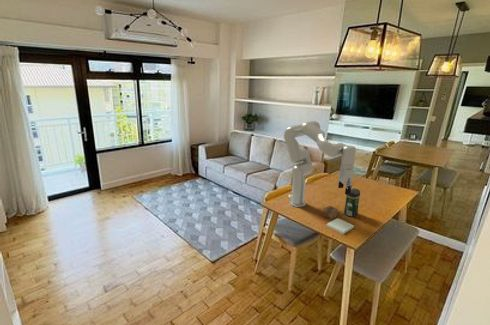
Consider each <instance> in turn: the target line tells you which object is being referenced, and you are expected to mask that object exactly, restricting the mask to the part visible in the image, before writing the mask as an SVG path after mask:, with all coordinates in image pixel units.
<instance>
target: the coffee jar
mask: <svg viewBox="0 0 490 325" xmlns="http://www.w3.org/2000/svg"><path fill="white" fill-rule="evenodd" d="M345 196H346V197H345V203H344V204H345V205H344V208H343V214H344V215H345V216H347V217H356V216H357V214H358V213H359V203H360V197H361V190H360V189H359V188H355V187H352V188H351V192H350V194H345Z"/></svg>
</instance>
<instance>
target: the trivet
mask: <svg viewBox="0 0 490 325" xmlns="http://www.w3.org/2000/svg"><path fill="white" fill-rule="evenodd" d="M326 227H328V228H329V229H332V230H334V231H336V232H337V233H340V234H342V235H344V234H346V233H347V232H349V231H351V230H352V229H354V228H355V225H353V224H351V223H349V222H347V221H346V220H343V219H341V218H338V217H337V218H336V217H335V218H334V219H332V221H329V222H327V223H326Z"/></svg>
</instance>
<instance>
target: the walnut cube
mask: <svg viewBox="0 0 490 325" xmlns="http://www.w3.org/2000/svg"><path fill="white" fill-rule="evenodd" d="M337 215H338V208H337V207H334V206H332V205H329V206H327V207H324V213H323V216H324V217H325V218H328V219H331V220H334V219H336V217H337ZM337 218H338V217H337Z"/></svg>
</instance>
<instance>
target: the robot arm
mask: <svg viewBox="0 0 490 325" xmlns="http://www.w3.org/2000/svg"><path fill="white" fill-rule="evenodd" d="M303 136H307V137H308V138H310V139H311V140H312V141H314V142H315V143H316V145H317V148H319V150H320V151H321V152H322V153H324V154H325V155H326V156H328V157H331V158H337V157H339V156H341V161H340V167H339V172H338V177H337V180H338V184H337V185H338V186H337V187H338V189H343V188H344V186H345V190H344V194H345V195H346V194H350V192H351V189H353V186H354V183H353V178H354V177H353V176H354V167H355V160H356V152H357V148H356V146H353V145H347V144H344V143H343V142H342V143H341V142H337V143H335V144H331V142H329V141H327V140H326V138H325V137H326V132H325V131H323V130H322V129H321V125H320V123H319V122H317V121H316V120H312V121H305V122H304V123H301V124H296V125H292V126H289V127H287V128H286V129H285V130H284V133H283V139H284V142H285V144H286V147H287V151H288V156H289V159H290V161H291V162H292V163H294V164H296V163H298V164H296V165H293V167H292V168H291V176H292V184H291V194H289V195H288V197H287V198H288V199H290V200H288V201H289V203H288V204H289V205H290V206H292V207H295V208H302V207H305V206H306V204H307V202H306V201H305V192H306V179H305V177H306V176H307V175H310V174H312V172H313V170H314V166H313V162H312V159H311V155H310V152H309V150H307V149H306V148H303V147H302V148H301V147H300V145H299V142H298V140H297V139H296V138H298V137H299V138H300V137H303Z"/></svg>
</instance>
